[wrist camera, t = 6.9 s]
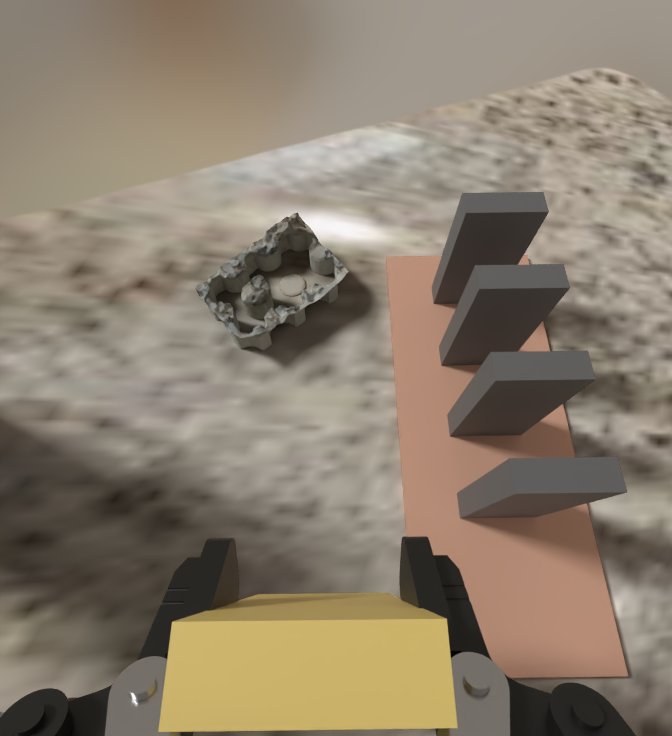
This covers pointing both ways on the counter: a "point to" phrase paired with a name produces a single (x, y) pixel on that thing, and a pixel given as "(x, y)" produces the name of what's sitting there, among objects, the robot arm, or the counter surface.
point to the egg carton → (258, 291)
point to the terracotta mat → (495, 535)
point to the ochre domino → (309, 666)
